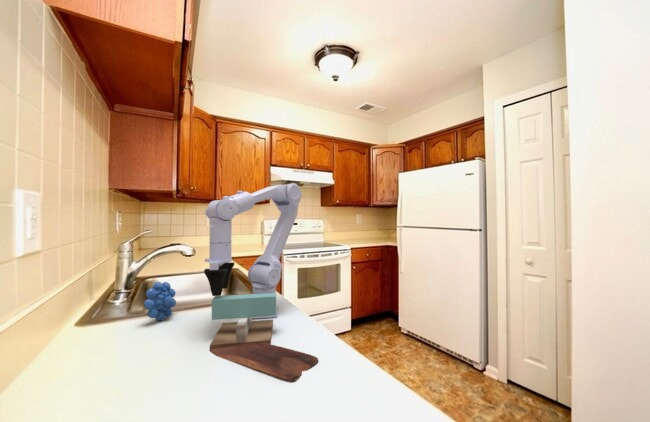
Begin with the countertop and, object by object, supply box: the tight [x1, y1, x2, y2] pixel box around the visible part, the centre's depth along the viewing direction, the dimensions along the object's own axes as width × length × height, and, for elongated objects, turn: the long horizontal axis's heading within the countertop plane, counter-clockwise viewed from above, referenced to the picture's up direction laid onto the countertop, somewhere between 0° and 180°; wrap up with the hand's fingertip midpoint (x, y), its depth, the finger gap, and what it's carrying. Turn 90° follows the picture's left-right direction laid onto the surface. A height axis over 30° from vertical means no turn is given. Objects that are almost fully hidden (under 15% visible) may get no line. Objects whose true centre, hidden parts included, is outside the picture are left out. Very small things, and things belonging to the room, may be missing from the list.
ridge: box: [209, 317, 274, 350], centre depth 71 cm, size 14×14×5 cm
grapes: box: [143, 281, 177, 322], centre depth 82 cm, size 12×7×12 cm, turn 170°
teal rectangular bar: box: [211, 292, 277, 321], centre depth 71 cm, size 16×4×5 cm, turn 99°
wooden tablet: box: [208, 343, 319, 383], centre depth 60 cm, size 26×2×10 cm
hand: (220, 291), depth 75 cm, fingers open, 7 cm apart
